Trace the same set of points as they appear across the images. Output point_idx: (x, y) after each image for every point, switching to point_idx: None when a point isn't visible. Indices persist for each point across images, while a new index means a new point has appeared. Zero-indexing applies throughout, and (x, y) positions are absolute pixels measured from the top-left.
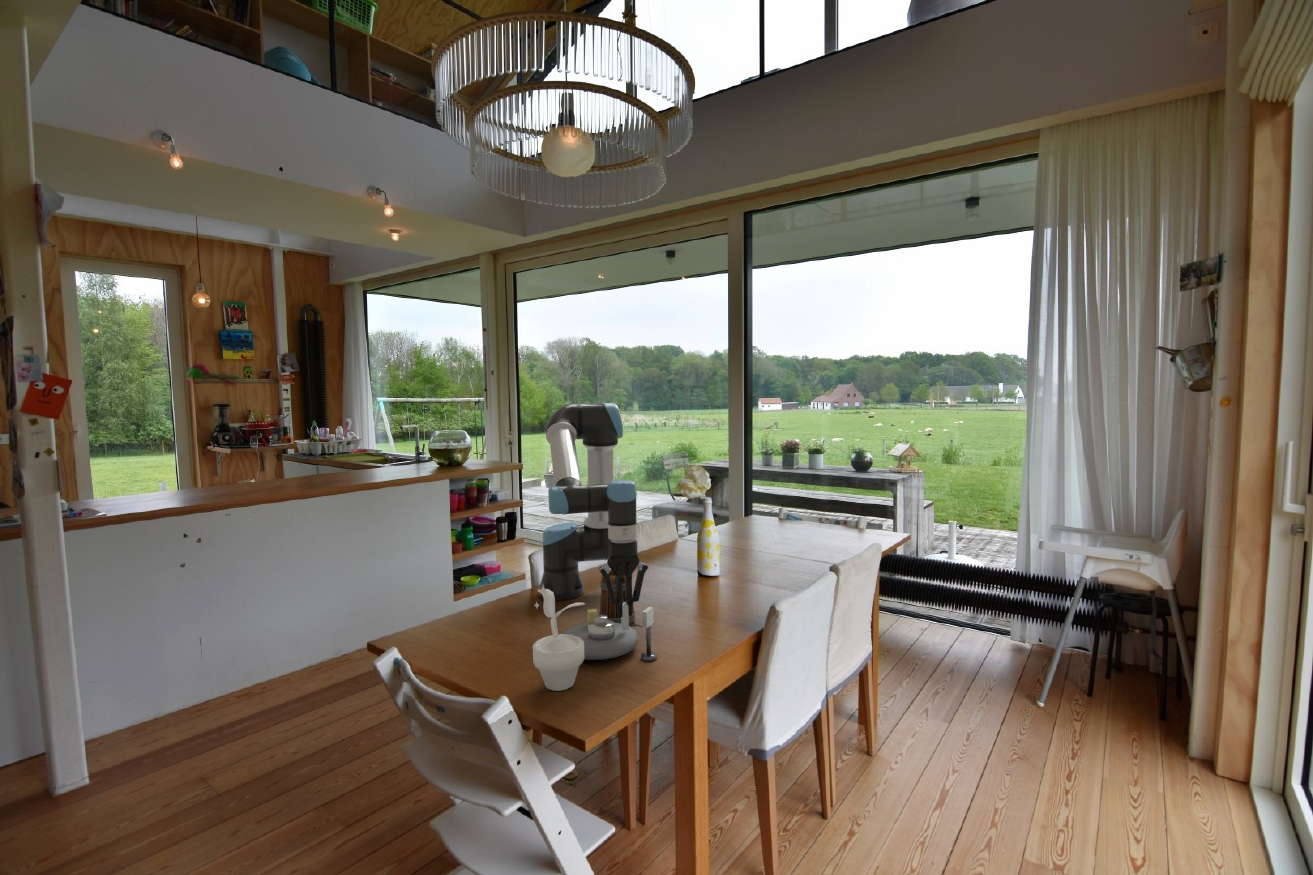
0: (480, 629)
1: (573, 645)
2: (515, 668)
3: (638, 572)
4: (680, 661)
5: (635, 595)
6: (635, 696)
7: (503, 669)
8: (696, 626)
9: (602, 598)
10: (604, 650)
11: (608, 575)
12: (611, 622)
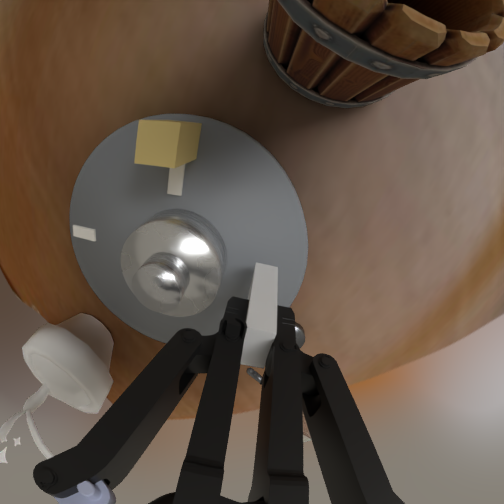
0: (17, 15)
1: (84, 404)
2: (29, 232)
3: (353, 502)
4: None
5: (302, 407)
6: (198, 406)
7: (17, 226)
8: (488, 231)
9: (272, 2)
10: (165, 340)
11: (115, 486)
12: (208, 277)
